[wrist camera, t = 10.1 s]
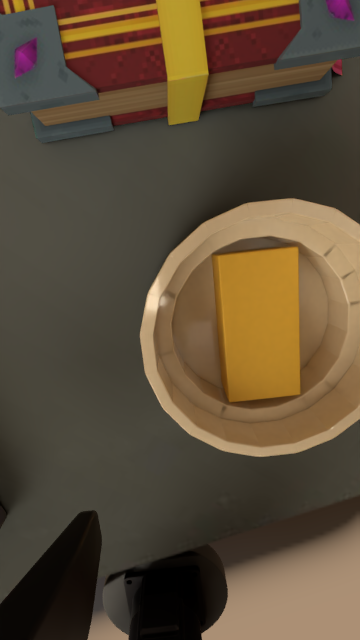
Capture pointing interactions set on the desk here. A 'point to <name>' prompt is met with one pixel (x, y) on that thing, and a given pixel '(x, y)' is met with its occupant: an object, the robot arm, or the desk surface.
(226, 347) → the block
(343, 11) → the decorative book
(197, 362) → the bowl
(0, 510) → the calculator
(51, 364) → the desk surface
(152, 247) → the desk surface
